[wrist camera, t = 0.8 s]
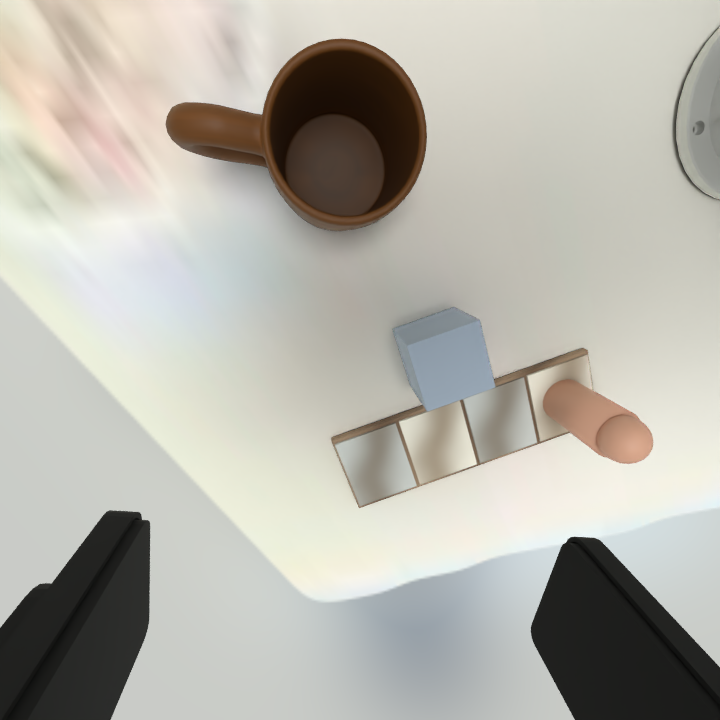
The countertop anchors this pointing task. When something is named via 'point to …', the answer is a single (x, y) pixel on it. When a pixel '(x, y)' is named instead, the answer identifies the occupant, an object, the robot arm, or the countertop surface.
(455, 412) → the track
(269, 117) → the mug
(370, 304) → the countertop surface
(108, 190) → the countertop surface
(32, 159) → the countertop surface
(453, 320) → the light blue cube
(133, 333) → the countertop surface
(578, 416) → the pawn
